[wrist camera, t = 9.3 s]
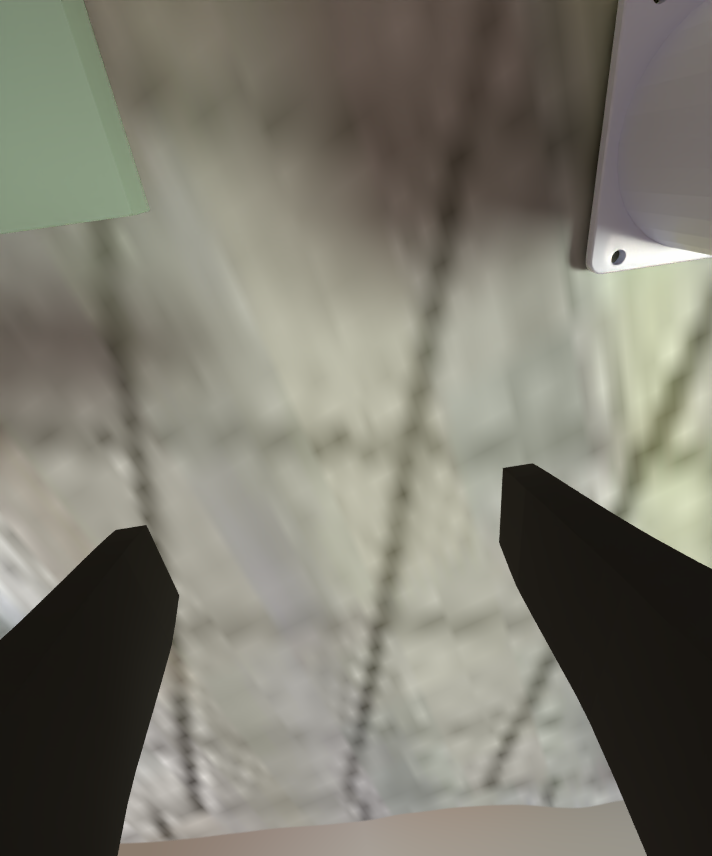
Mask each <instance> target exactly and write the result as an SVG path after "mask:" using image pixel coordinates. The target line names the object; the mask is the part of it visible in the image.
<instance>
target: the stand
mask: <svg viewBox="0 0 712 856" xmlns="http://www.w3.org/2000/svg"><path fill="white" fill-rule="evenodd" d="M147 211H150V209H149V206H148V203H147V200H146V197H145V194H144V191H143V187H142V184H141V181H140V178H139V175H138V172H137V168H136V165H135V162H134V159H133V156H132V153H131V149H130V146H129V143H128V140H127V137H126V134H125V130H124V127H123V124H122V121H121V118H120V115H119V112H118V108H117V105H116V102H115V99H114V96H113V93H112V89H111V86H110V83H109V80H108V77H107V74H106V70H105V67H104V64H103V61H102V58H101V55H100V52H99V48H98V45H97V42H96V39H95V36H94V33H93V29H92V26H91V23H90V20H89V17H88V14H87V10H86V7H85V4H84V1H83V0H0V234H6V233H13V232H20V231H27V230H34V229H41V228H48V227H55V226H62V225H69V224H76V223H83V222H90V221H97V220H105V219H112V218H119V217H126V216H133V215H137V214H140V213H144V212H147Z"/></svg>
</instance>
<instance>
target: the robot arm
mask: <svg viewBox="0 0 712 856" xmlns="http://www.w3.org/2000/svg"><path fill="white" fill-rule="evenodd" d="M617 250H619V256H618V259H617V260H616V261H615V262H613V263H612V262H611V258H612V255H613V254H614V253H615V252H616V251H617ZM705 258H712V0H659V2H658V3H655V2H654V1H653V0H619V1H618V9H617V16H616V24H615V32H614V40H613V48H612V56H611V64H610V72H609V79H608V87H607V95H606V103H605V111H604V119H603V127H602V134H601V142H600V150H599V158H598V166H597V174H596V182H595V189H594V197H593V205H592V213H591V221H590V229H589V237H588V244H587V252H586V266H587V268H588V270H590V271H591V272H594V273H597V274H604V273H611V272H618V271H624V270H631V269H638V268H645V267H651V266H658V265H665V264H671V263H678V262H685V261H692V260H698V259H705ZM499 543H500V546H501V548H502V551H503V554H504V556H505V559H506V561H507V564H508V567H509V569H510V571H511V574H512V576H513V579H514V581H515V584H516V586H517V588H518V590H519V592H520V594H521V596H522V598H523V599H524V601H525V603H526V605H527V607H528V609H529V611H530V612H531V614H532V616H533V618H534V620H535V622H536V623H537V625H538V627H539V629H540V631H541V632H542V634H543V636H544V638H545V640H546V642H547V643H548V645H549V647H550V649H551V651H552V652H553V654H554V656H555V658H556V660H557V661H558V663H559V665H560V667H561V669H562V671H563V672H564V674H565V676H566V678H567V680H568V681H569V683H570V685H571V687H572V689H573V690H574V692H575V694H576V696H577V698H578V700H579V702H580V704H581V706H582V708H583V710H584V712H585V714H586V716H587V718H588V720H589V722H590V724H591V726H592V729H593V731H594V733H595V735H596V738H597V740H598V742H599V744H600V747H601V749H602V751H603V753H604V756H605V758H606V760H607V762H608V765H609V767H610V769H611V772H612V774H613V776H614V778H615V781H616V783H617V785H618V788H619V790H620V792H621V795H622V797H623V799H624V802H625V804H626V807H627V809H628V811H629V813H630V816H631V818H632V821H633V823H634V825H635V828H636V830H637V833H638V835H639V837H640V840H641V842H642V844H643V847H644V849H645V852H646V854H647V856H712V569H711V568H709V567H707V566H705V565H703V564H701V563H699V562H697V561H695V560H694V559H692V558H690V557H688V556H686V555H684V554H683V553H681V552H679V551H677V550H675V549H673V548H672V547H670V546H668V545H666V544H664V543H662V542H661V541H659V540H657V539H655V538H654V537H652V536H650V535H648V534H647V533H645V532H643V531H641V530H640V529H638V528H636V527H635V526H633V525H631V524H629V523H628V522H626V521H624V520H623V519H621V518H620V517H618V516H616V515H615V514H613V513H611V512H610V511H608V510H606V509H605V508H603V507H602V506H600V505H598V504H597V503H595V502H594V501H592V500H590V499H589V498H587V497H586V496H584V495H583V494H581V493H579V492H578V491H576V490H575V489H573V488H571V487H570V486H568V485H567V484H565V483H564V482H562V481H561V480H559V479H557V478H556V477H554V476H553V475H551V474H549V473H548V472H546V471H545V470H543V469H541V468H540V467H538V466H536V465H535V464H533V463H532V464H526V465H519V466H513V467H507V468H503V479H502V498H501V518H500V537H499ZM178 600H179V594H178V592H177V590H176V588H175V585H174V583H173V581H172V579H171V577H170V575H169V573H168V570H167V568H166V566H165V564H164V562H163V560H162V558H161V555H160V553H159V551H158V549H157V547H156V545H155V543H154V541H153V538H152V536H151V534H150V532H149V530H148V528H147V526H146V525H144V526H138V527H132V528H126V529H119V530H115V531H114V532H113V533H112V534H111V535H109V536H108V537H107V538H106V539H105V540H104V541H103V542H102V543H101V544H100V545H98V546H97V547H96V548H95V549H94V550H93V551H92V552H91V553H90V554H89V555H88V556H87V557H86V558H85V559H84V560H83V561H82V562H81V563H80V564H79V565H78V566H77V567H76V568H75V569H74V570H73V571H72V572H71V573H70V574H69V575H68V576H67V577H66V578H65V579H64V580H63V581H62V582H61V583H59V584H58V585H57V586H56V587H55V588H54V589H53V590H52V591H51V592H50V593H49V594H48V595H47V596H46V597H45V598H44V599H43V600H42V601H41V602H40V603H39V604H38V605H37V606H36V607H35V608H34V609H33V610H32V611H31V612H30V613H29V614H28V615H27V616H25V617H24V618H23V619H22V620H21V621H20V622H19V623H18V624H17V625H16V626H15V627H14V628H13V629H12V630H11V631H9V632H8V633H7V634H6V635H5V636H4V637H3V638H2V639H1V640H0V856H117V855H118V850H119V845H120V840H121V835H122V830H123V825H124V819H125V814H126V809H127V804H128V800H129V796H130V792H131V788H132V784H133V780H134V776H135V772H136V768H137V765H138V762H139V758H140V755H141V751H142V748H143V744H144V741H145V737H146V734H147V730H148V727H149V723H150V720H151V717H152V713H153V710H154V706H155V703H156V699H157V696H158V692H159V689H160V685H161V682H162V678H163V675H164V671H165V667H166V664H167V660H168V657H169V653H170V649H171V645H172V640H173V634H174V628H175V622H176V614H177V607H178Z"/></svg>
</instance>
